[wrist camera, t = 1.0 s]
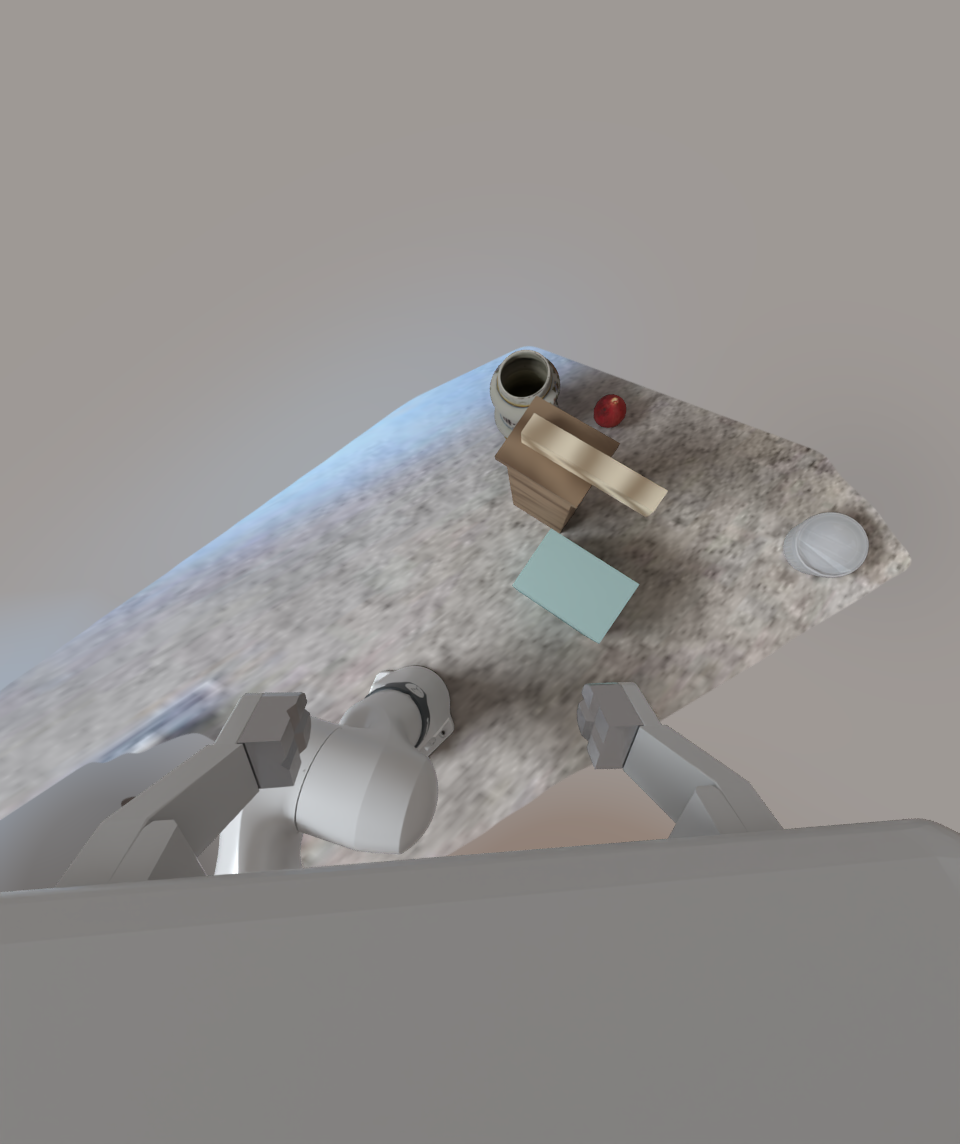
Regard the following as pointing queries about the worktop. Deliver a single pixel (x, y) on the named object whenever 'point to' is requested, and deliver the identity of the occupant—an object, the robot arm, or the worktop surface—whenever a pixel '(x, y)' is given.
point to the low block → (575, 586)
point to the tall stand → (548, 468)
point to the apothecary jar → (521, 387)
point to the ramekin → (827, 545)
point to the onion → (609, 411)
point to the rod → (592, 465)
